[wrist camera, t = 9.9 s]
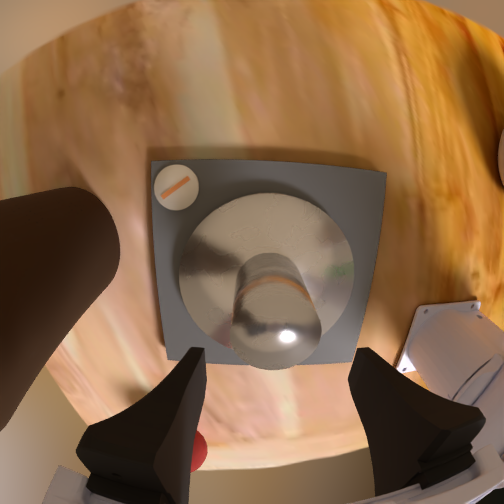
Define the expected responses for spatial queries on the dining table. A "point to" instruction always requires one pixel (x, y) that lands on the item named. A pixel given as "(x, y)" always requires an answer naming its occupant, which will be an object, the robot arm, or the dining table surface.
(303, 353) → the cylinder
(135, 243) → the dining table surface
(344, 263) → the scale pan
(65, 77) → the dining table surface
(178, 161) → the scale base
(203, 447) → the onion
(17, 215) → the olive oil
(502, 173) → the teacup
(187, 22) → the dining table surface
